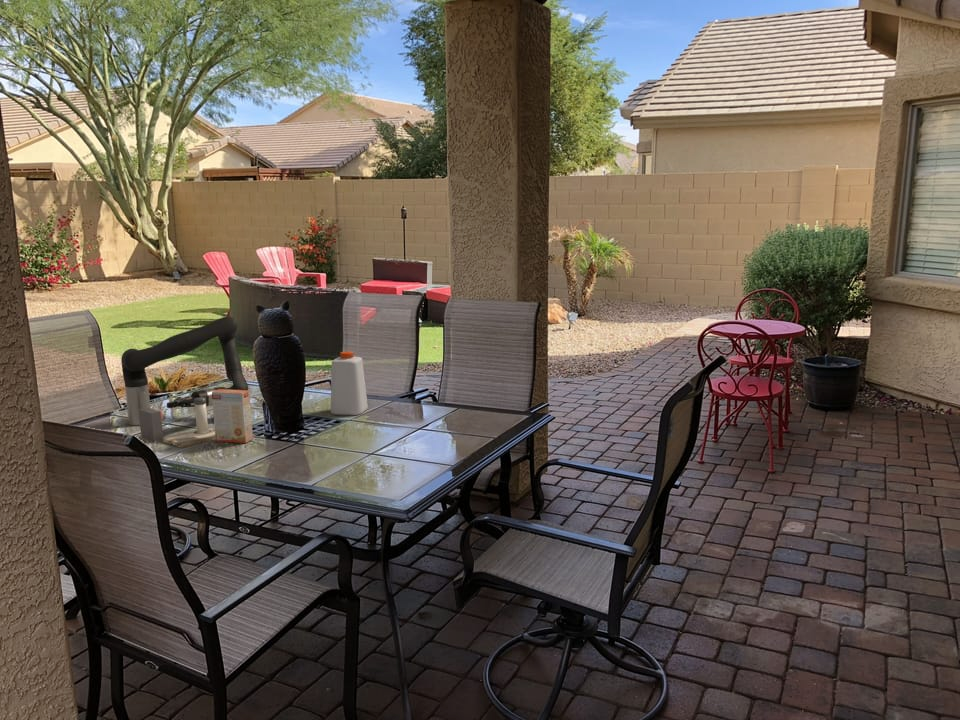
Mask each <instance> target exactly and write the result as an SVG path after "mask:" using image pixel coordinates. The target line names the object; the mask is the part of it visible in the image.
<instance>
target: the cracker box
mask: <svg viewBox="0 0 960 720" xmlns="http://www.w3.org/2000/svg"><path fill="white" fill-rule="evenodd" d="M250 396H251V395H250V390H249V389H248V390H226V389H219V390H216V391H213V392H212V401H213V405H212V412H213V420H214V422H213V424H214V429H215V437H216V439H215V442H217V443H218V442H220V443H222V442H223V443H236V444H237V443H238V444H247V443H249V442H251V441H253V440H254V433H253V423H252V422H253V420H252V419H253V418H252V408H251V407H252V405H251V397H250Z"/></svg>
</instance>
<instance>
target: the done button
mask: <svg viewBox="0 0 960 720" xmlns="http://www.w3.org/2000/svg"><path fill="white" fill-rule="evenodd" d="M157 410H158V411H161V420H162V421H163V420H164V413H163V412H162V410H160V409H157Z"/></svg>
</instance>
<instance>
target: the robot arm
mask: <svg viewBox="0 0 960 720" xmlns="http://www.w3.org/2000/svg"><path fill="white" fill-rule="evenodd" d="M237 321H238V320H236V319H235V318H234V317H231V316H223V317H220V318H218V319H215V320H213V321H211V322H210V323H207V324H205V325H202V326H199V327H196V328H193V329H189V330H186V331H183V332H180V333H177V334H175V335H172V336H170V337H168V338H166V339H164V340H162V341H161V342H158V343H157V344H155V345H153V346H150V347H149V346H148V347H146V348H142V349H137V348H129V349H126V350H125V351H124V352H123V353H122V355H121V368H122V377H123V378H122V379H123V382H124V388H125V389H124V390H125V397H126V399H125V400H126V409H127V411H126V412H127V419H128V424H129V425H130V426H140V419H139V410H140V409H145V408H150V409H151V402H150V401H151V400H150V390H149V382H148V377H147V373H146V368H148V367H150V366H152V365H154V364H158V363H159V362H162V361H165V360H169V359H172V358H176V357H178V356H181V355H185V354H188V353H190V352H193V351H195V350H196V349H198V348H199V347H202V345H204V344H206V343H207V342H209V341H210V340H213V339H215V338H218V340H219V344H220V345H221V349H222V353H223V360H224V367H225V374H226V378H227V380H228V381H231V382H232V385H231V386H230V387H225V386H218V387H213V388H206V389H200V390H196V391H195V390H194V391H193V392H192V393H191V395H190V396H189V395H186V396H184V397H182V396H177V398H175V399H173V401H169V402H166V408H167V409H173V408H182V409H183V408H195V404H194V399H195V398H200V397H204V398H206V408H207V407H211V406H213V401H212V392H213V391H216V390H219V389H226V390H249V385H248V382H247V380H246V377H245V376H244V374H243V369H242V362H241V359H240V356H239V352H238V350H237V341H236V338H237V333H238V327H239V326H238V322H237Z"/></svg>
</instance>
